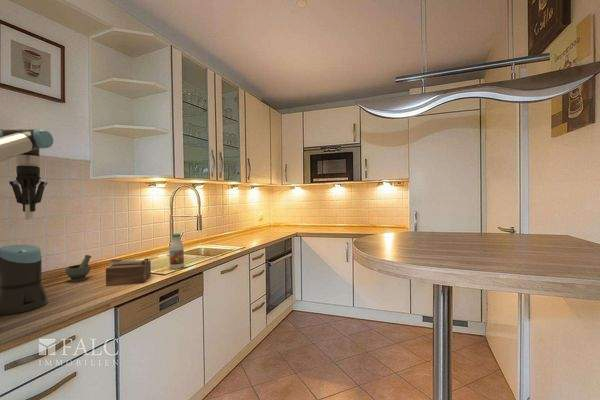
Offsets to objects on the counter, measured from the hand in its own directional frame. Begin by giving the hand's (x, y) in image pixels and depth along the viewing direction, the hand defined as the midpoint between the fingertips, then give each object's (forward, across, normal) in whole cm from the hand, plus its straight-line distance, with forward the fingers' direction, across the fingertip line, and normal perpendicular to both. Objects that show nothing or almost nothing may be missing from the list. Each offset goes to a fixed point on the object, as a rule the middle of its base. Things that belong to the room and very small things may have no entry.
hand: (29, 219), depth 126 cm
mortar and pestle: (+33, -12, -16) cm, 38 cm away
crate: (+32, -37, -8) cm, 50 cm away
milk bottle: (+33, -56, -28) cm, 71 cm away
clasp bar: (+24, -36, -8) cm, 44 cm away
